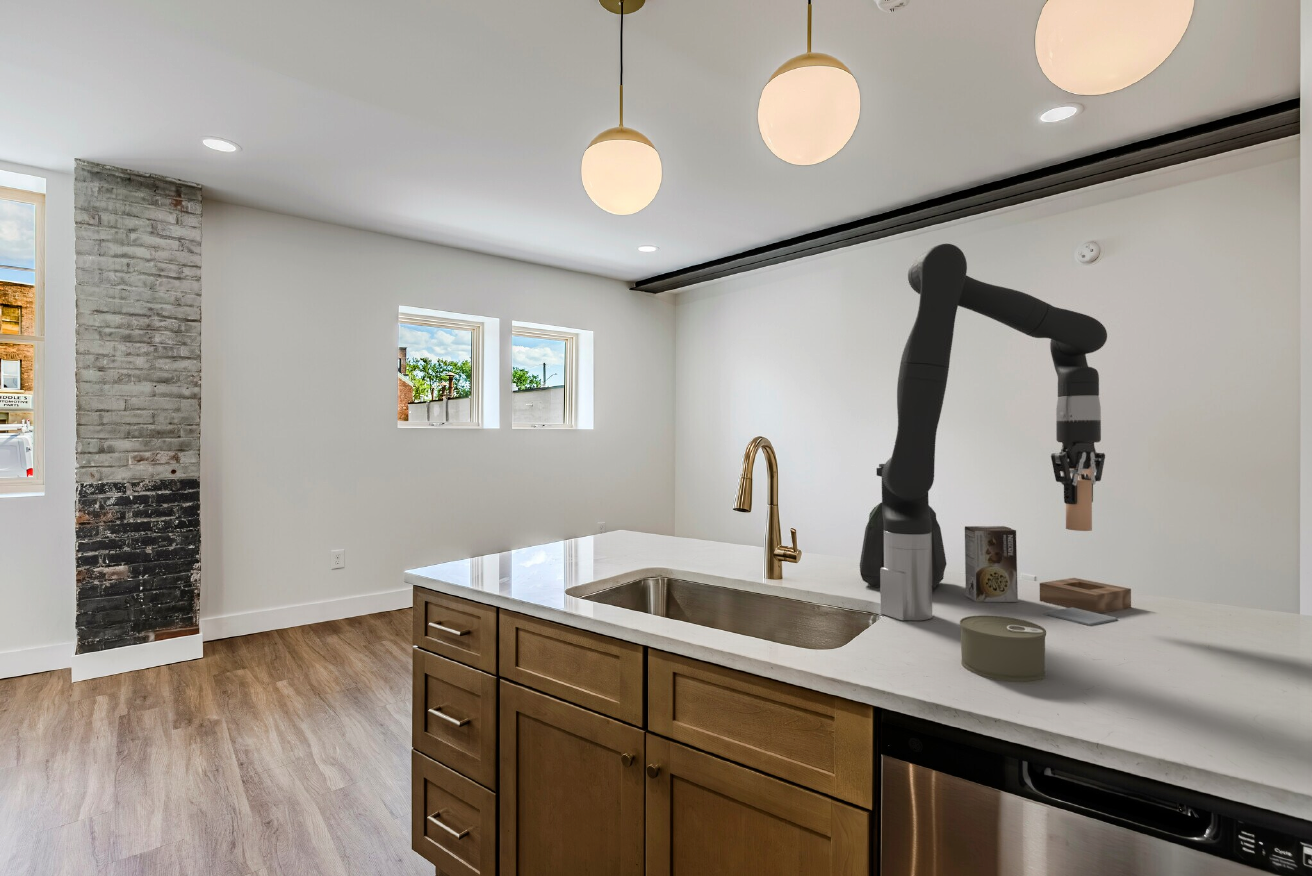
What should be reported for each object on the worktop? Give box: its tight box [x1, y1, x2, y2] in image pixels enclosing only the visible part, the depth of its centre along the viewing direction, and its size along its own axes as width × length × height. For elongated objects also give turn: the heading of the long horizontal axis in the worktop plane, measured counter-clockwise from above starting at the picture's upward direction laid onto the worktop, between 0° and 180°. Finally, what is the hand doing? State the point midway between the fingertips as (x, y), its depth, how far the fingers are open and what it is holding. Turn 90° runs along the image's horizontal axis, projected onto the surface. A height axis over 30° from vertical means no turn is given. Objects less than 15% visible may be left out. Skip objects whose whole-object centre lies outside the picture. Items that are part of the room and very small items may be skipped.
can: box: [959, 614, 1047, 683], centre depth 100 cm, size 12×12×7 cm
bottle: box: [859, 463, 948, 590], centre depth 158 cm, size 18×16×30 cm
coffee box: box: [964, 525, 1019, 603], centre depth 144 cm, size 9×6×16 cm
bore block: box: [1039, 577, 1132, 614], centre depth 139 cm, size 12×12×4 cm
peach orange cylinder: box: [1065, 478, 1093, 532], centre depth 129 cm, size 4×4×10 cm
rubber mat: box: [1043, 607, 1118, 627], centre depth 129 cm, size 9×9×1 cm
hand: (1078, 503), depth 129 cm, fingers closed on peach orange cylinder, 4 cm apart
